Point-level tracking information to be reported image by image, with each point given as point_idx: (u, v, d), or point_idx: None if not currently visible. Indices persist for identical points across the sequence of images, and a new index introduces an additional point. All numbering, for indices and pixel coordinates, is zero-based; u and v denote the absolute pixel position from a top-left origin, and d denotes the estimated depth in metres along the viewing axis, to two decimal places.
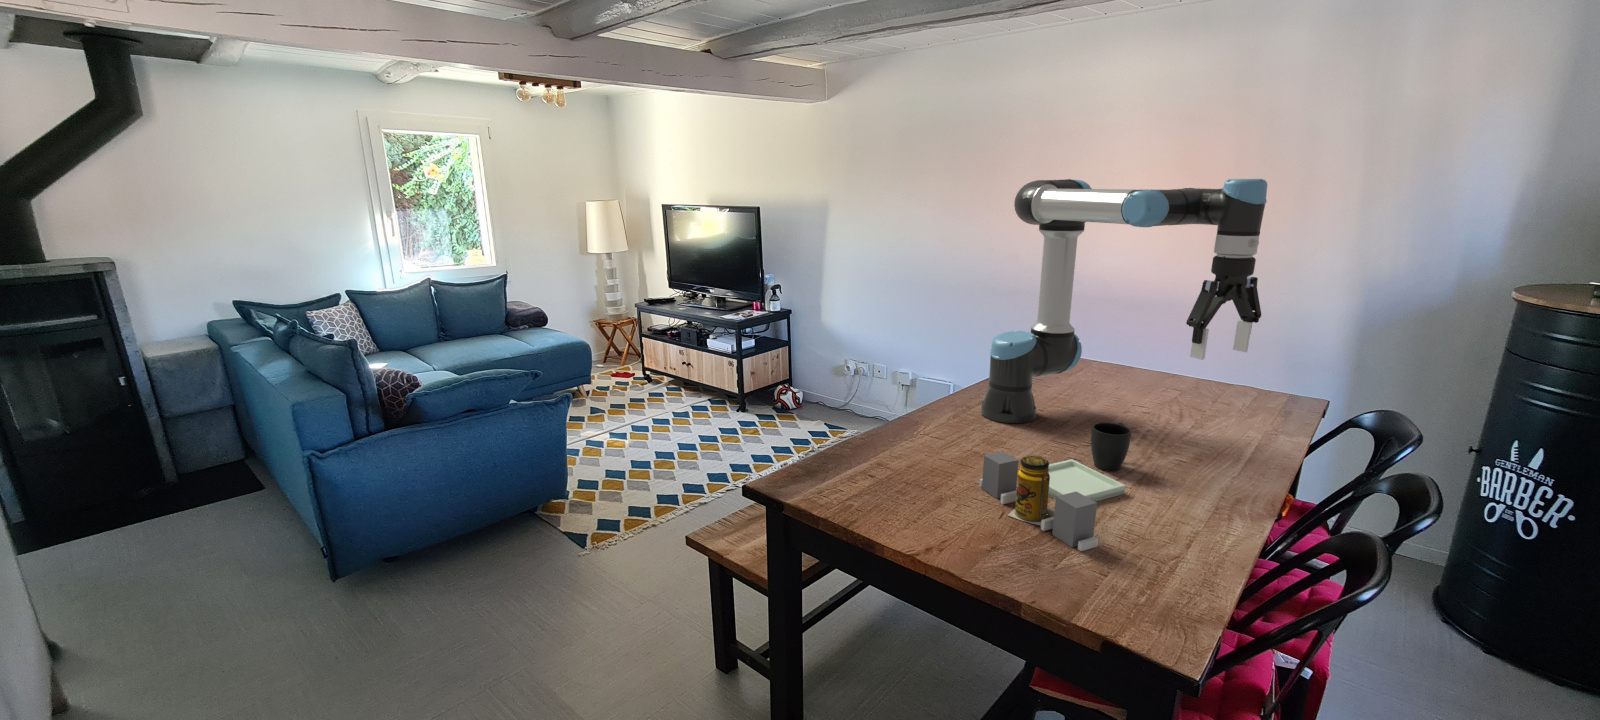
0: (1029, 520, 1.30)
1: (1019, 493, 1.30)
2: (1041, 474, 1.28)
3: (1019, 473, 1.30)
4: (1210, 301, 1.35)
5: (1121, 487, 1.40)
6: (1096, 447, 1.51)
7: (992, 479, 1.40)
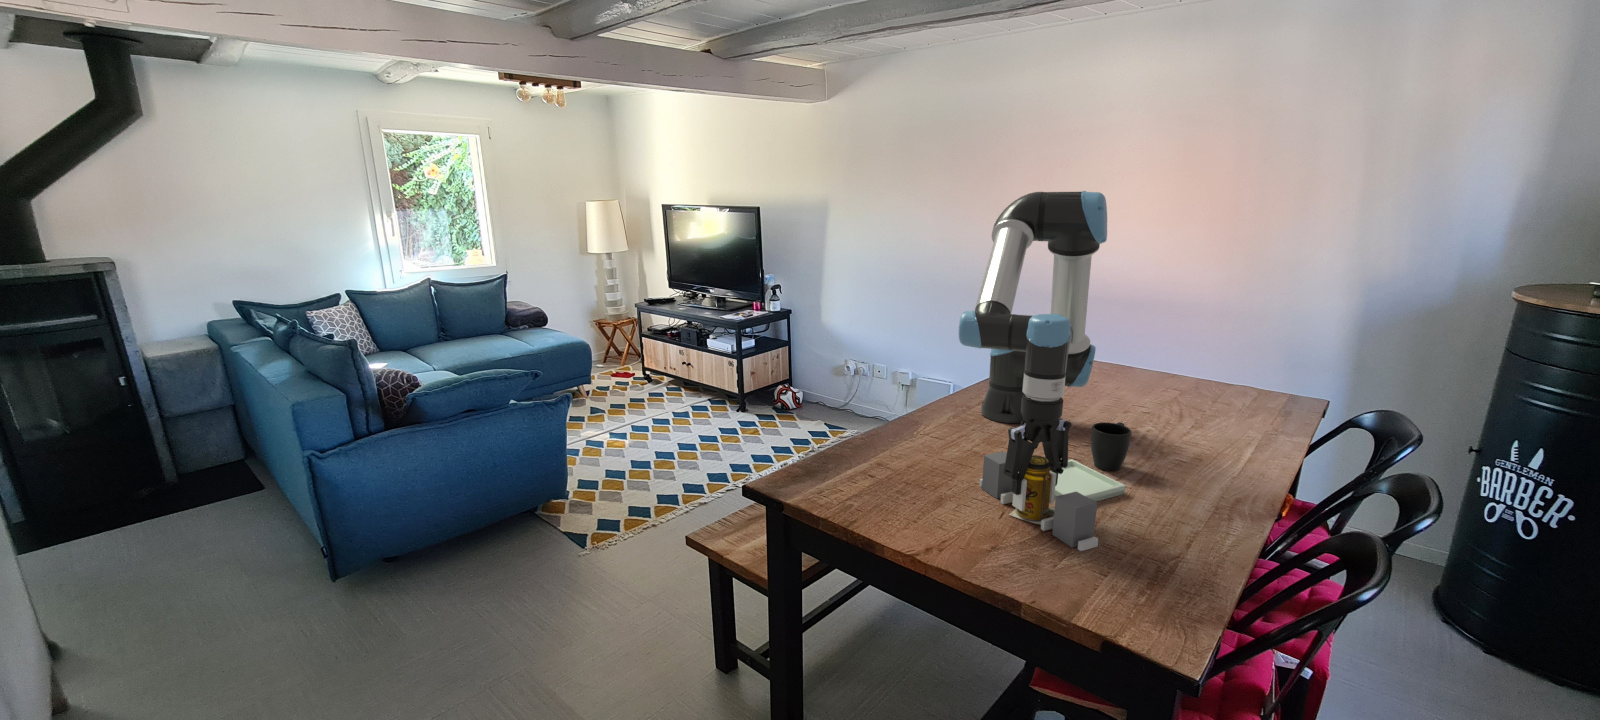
0: (1030, 520, 1.30)
1: None
2: (1043, 474, 1.28)
3: None
4: (1019, 451, 1.26)
5: (1121, 487, 1.40)
6: (1096, 447, 1.51)
7: (992, 479, 1.40)
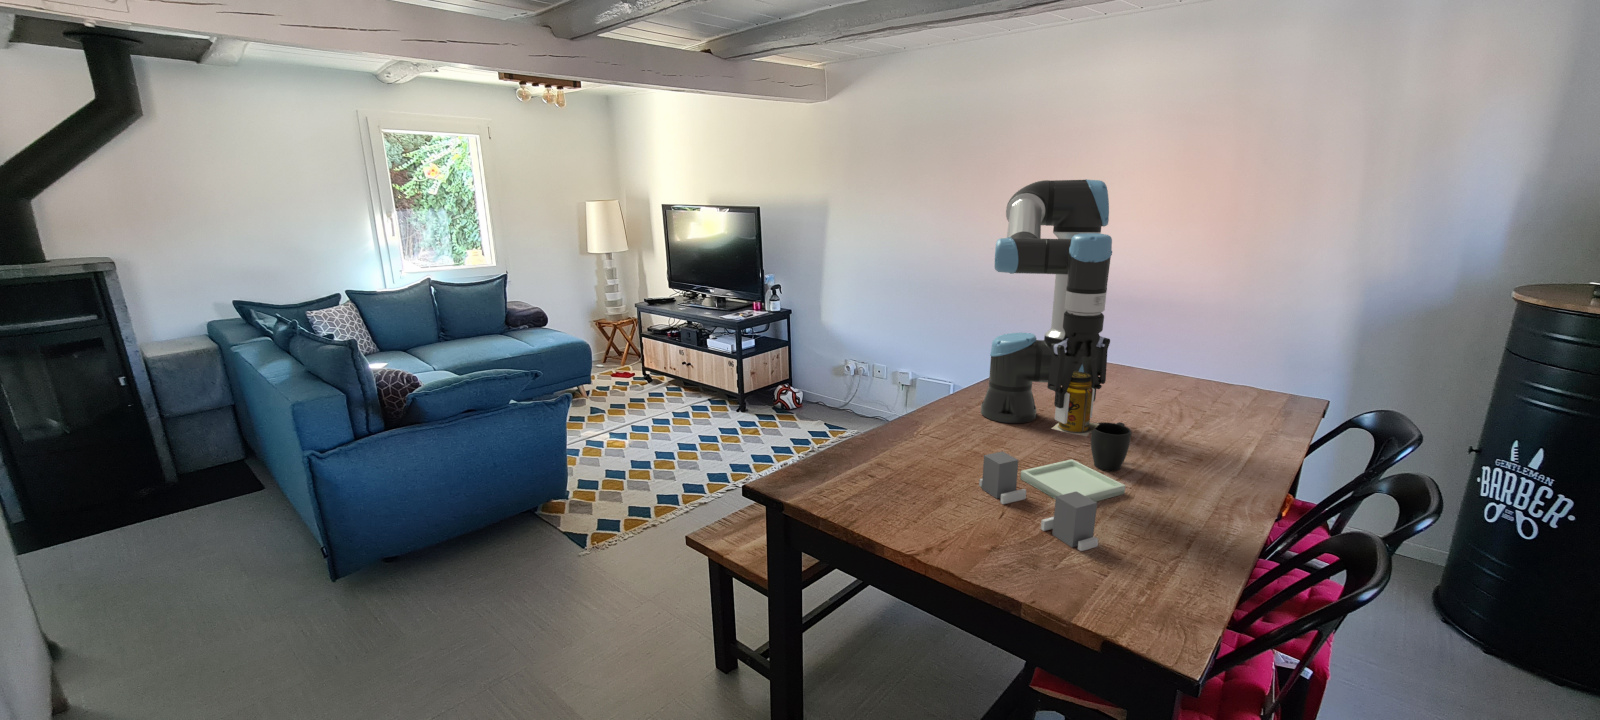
0: (1072, 432, 1.37)
1: None
2: (1085, 387, 1.34)
3: None
4: (1062, 365, 1.33)
5: (1121, 487, 1.40)
6: (1096, 447, 1.51)
7: (992, 479, 1.40)
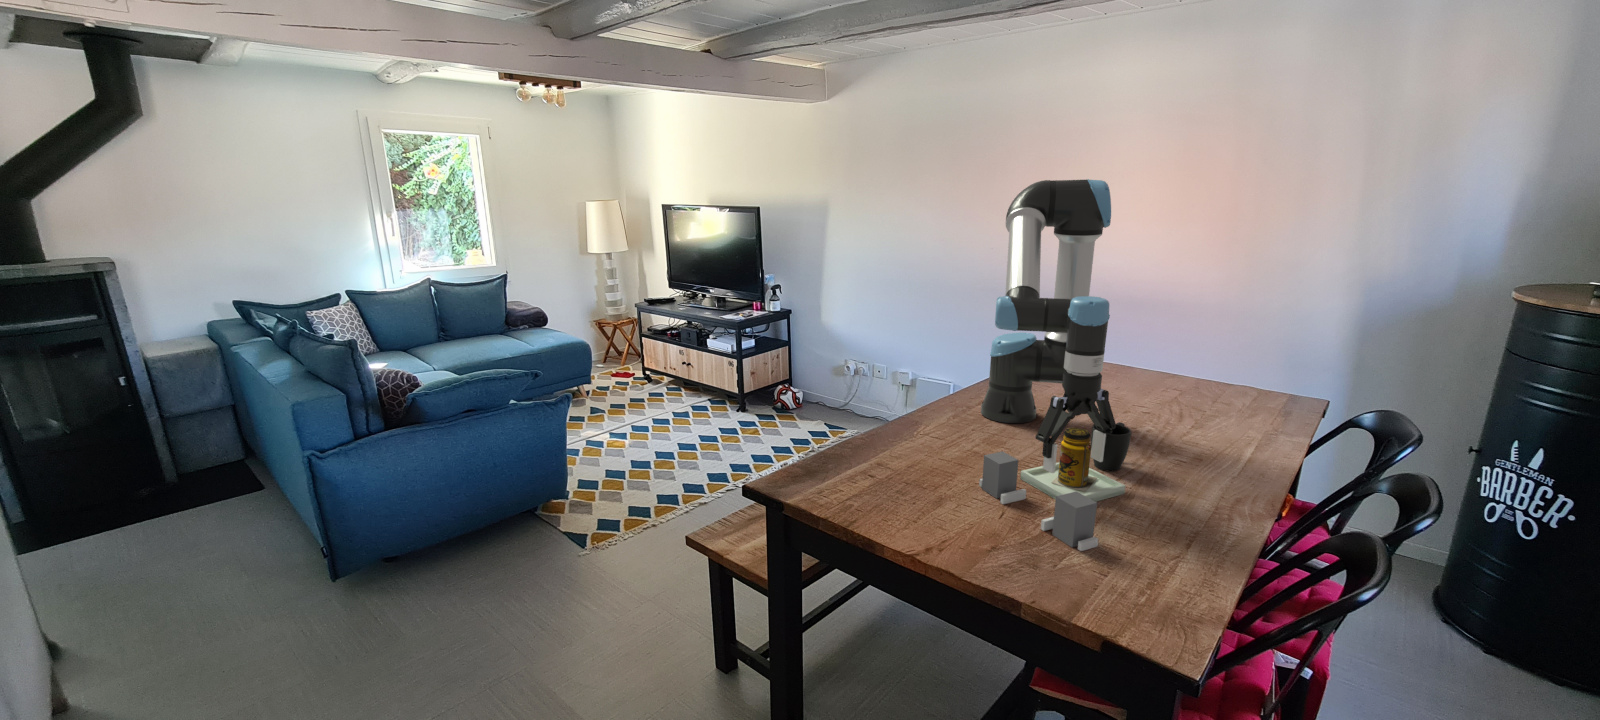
0: (1072, 487, 1.41)
1: (1062, 462, 1.42)
2: (1084, 444, 1.39)
3: (1062, 443, 1.42)
4: (1057, 418, 1.36)
5: (1121, 487, 1.40)
6: None
7: (992, 479, 1.40)
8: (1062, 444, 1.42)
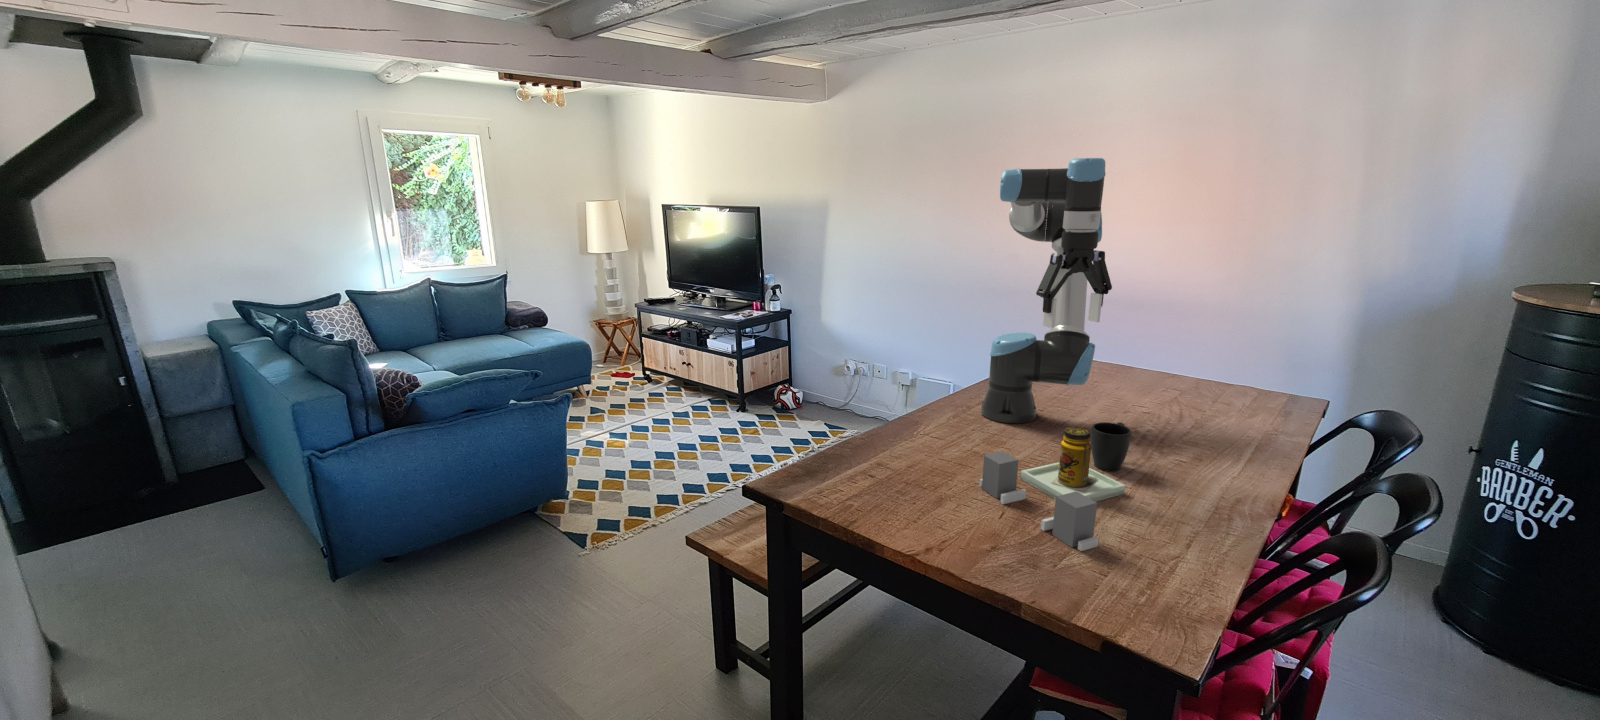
0: (1072, 487, 1.41)
1: (1062, 462, 1.42)
2: (1084, 444, 1.39)
3: (1062, 443, 1.42)
4: (1056, 273, 1.45)
5: (1121, 487, 1.40)
6: (1096, 447, 1.51)
7: (992, 479, 1.40)
8: (1062, 444, 1.42)
